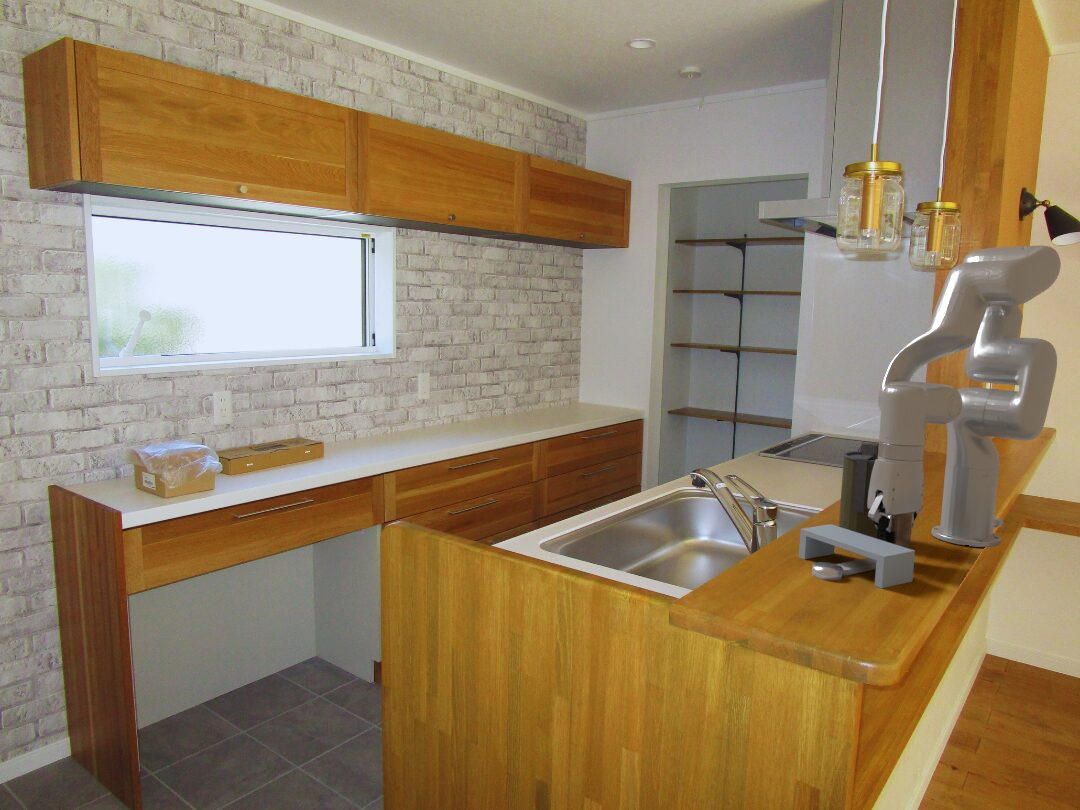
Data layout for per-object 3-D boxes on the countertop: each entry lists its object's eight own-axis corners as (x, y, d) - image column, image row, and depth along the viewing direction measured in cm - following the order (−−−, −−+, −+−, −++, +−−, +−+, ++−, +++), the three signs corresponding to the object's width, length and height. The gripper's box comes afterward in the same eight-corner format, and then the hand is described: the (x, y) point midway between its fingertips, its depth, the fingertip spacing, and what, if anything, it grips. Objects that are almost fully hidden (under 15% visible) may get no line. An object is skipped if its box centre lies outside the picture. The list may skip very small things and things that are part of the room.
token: (824, 570, 136) (825, 560, 135) (848, 578, 131) (849, 568, 131) (805, 574, 133) (806, 564, 133) (829, 583, 129) (830, 573, 129)
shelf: (828, 551, 146) (830, 524, 145) (912, 581, 130) (914, 550, 129) (798, 557, 142) (800, 528, 141) (881, 588, 126) (884, 556, 126)
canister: (846, 528, 163) (853, 437, 160) (897, 538, 156) (905, 443, 154) (829, 539, 154) (836, 443, 152) (883, 550, 148) (891, 450, 145)
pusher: (889, 557, 143) (893, 505, 142) (908, 563, 140) (912, 511, 138) (829, 569, 135) (832, 515, 134) (847, 576, 132) (851, 521, 131)
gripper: (911, 446, 145) (903, 538, 147) (852, 452, 137) (845, 549, 139) (948, 452, 139) (939, 549, 141) (888, 459, 131) (880, 561, 133)
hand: (892, 548), depth 140 cm, fingers closed on pusher, 4 cm apart
